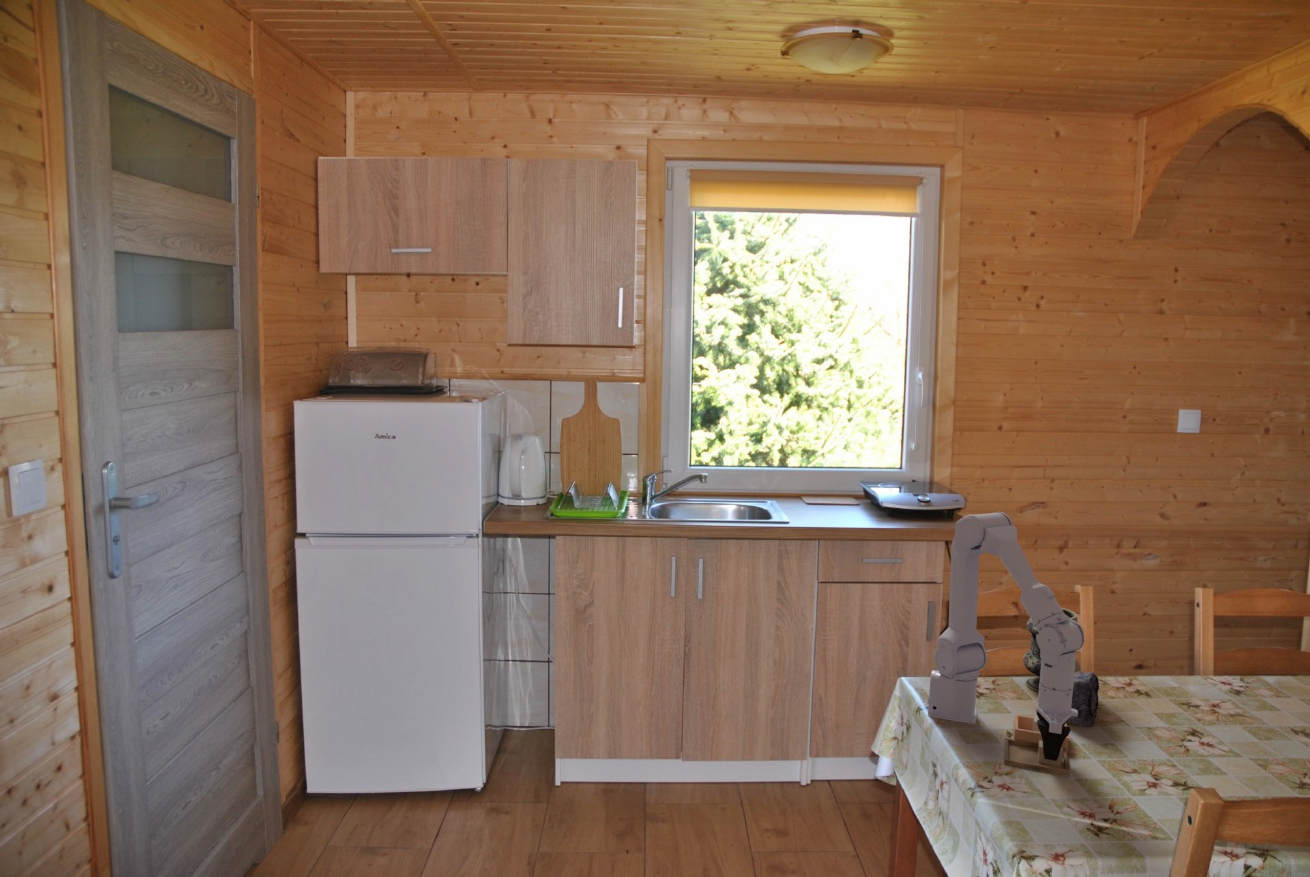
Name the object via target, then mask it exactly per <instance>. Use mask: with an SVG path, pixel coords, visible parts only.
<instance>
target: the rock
mask: <svg viewBox="0 0 1310 877" xmlns="http://www.w3.org/2000/svg"><path fill="white" fill-rule="evenodd" d="M1099 690H1100V683H1099V677H1098V676H1097V675H1096V674H1095V673H1094V672H1092V671H1088V672H1087V671H1086V672H1084V671H1081V670H1080V671H1079V672H1076V673H1074V683H1073V694H1072V704H1071V708H1072V709H1076V710H1077V711H1078V716H1077V717H1075V716H1071V717H1070V718H1069V719H1068V721H1067V722H1066V724H1067V723H1068V724H1072V725H1076V726H1077V725H1078V726H1079V727H1092V726H1093V725H1094V723H1095V721H1096V718H1097V714H1098V707H1099Z"/></svg>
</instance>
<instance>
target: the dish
mask: <svg viewBox="0 0 1310 877" xmlns="http://www.w3.org/2000/svg"><path fill="white" fill-rule="evenodd" d="M1033 720H1034V716H1028V715H1022V714H1021V715H1020V714H1017V713H1016V714H1015V713H1014V719H1013V739H1015V740H1020V741H1026V742H1032V743H1038V744H1039V740H1041V741H1042V736H1041V733H1040V732H1035V731H1033ZM1064 726H1067V723H1066V724H1065V725H1064ZM1067 727H1068V726H1067ZM1069 740H1070V739H1069V735H1068V736H1067V737H1066V739H1065V740H1064V742H1063V744H1062V748H1066V751H1067V753H1068V751H1069Z"/></svg>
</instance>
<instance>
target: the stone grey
mask: <svg viewBox="0 0 1310 877" xmlns="http://www.w3.org/2000/svg"><path fill="white" fill-rule="evenodd" d="M1033 717H1034V720H1033V731H1035V732H1040V730H1039V728H1038V725H1037V720H1039V718H1038V716H1037V715H1033Z"/></svg>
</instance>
